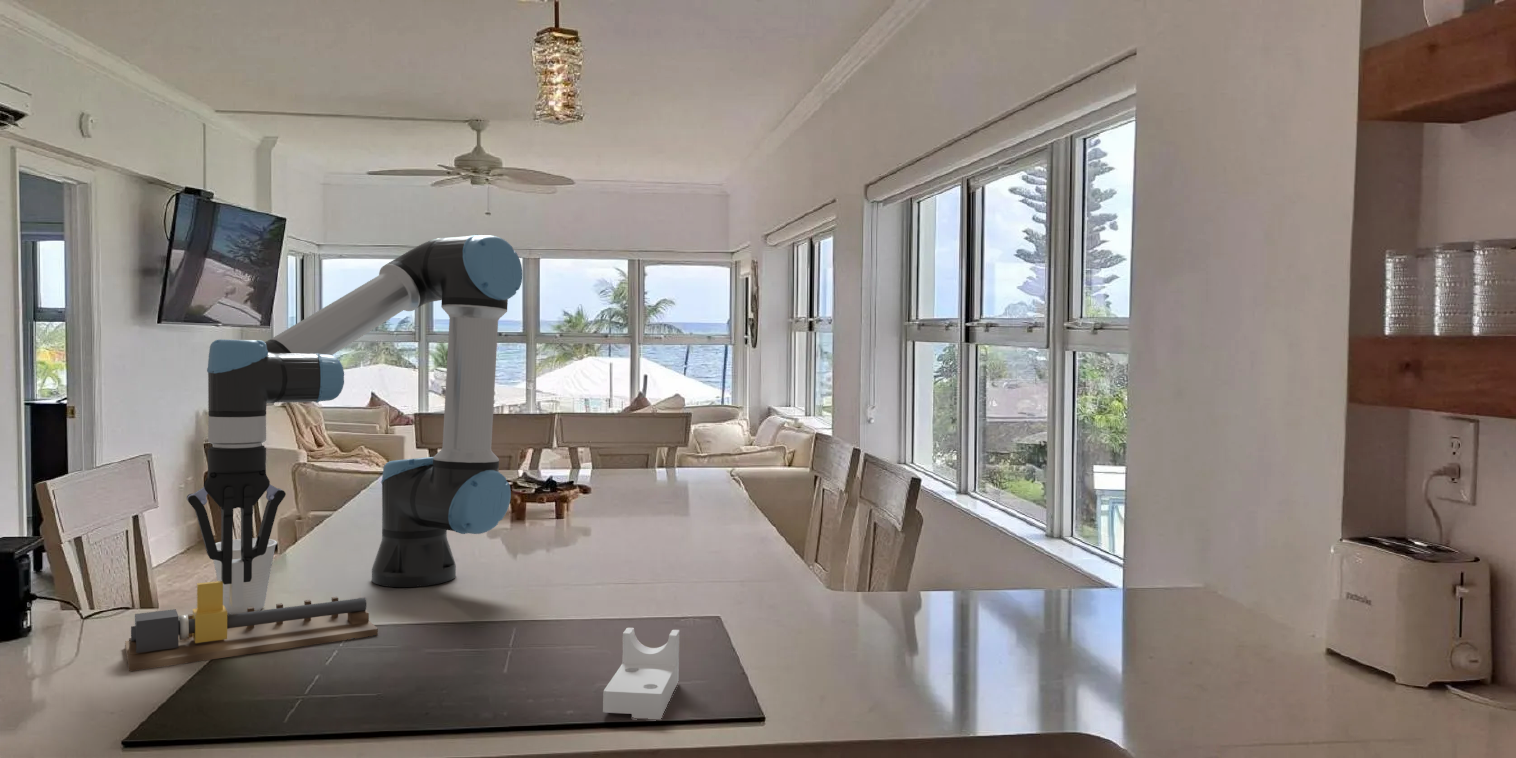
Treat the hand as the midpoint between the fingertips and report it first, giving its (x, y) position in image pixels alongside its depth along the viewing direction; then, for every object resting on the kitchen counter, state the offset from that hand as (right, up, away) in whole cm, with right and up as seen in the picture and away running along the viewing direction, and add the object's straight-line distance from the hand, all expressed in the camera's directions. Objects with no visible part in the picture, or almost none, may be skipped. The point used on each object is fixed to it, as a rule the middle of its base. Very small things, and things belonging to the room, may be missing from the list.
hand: (236, 604), depth 143 cm
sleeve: (-3, -4, -2) cm, 5 cm away
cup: (-9, -5, +19) cm, 21 cm away
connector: (-8, -5, -5) cm, 10 cm away
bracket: (+62, -8, -19) cm, 65 cm away
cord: (+2, -3, +2) cm, 4 cm away
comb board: (+2, -6, +2) cm, 6 cm away
